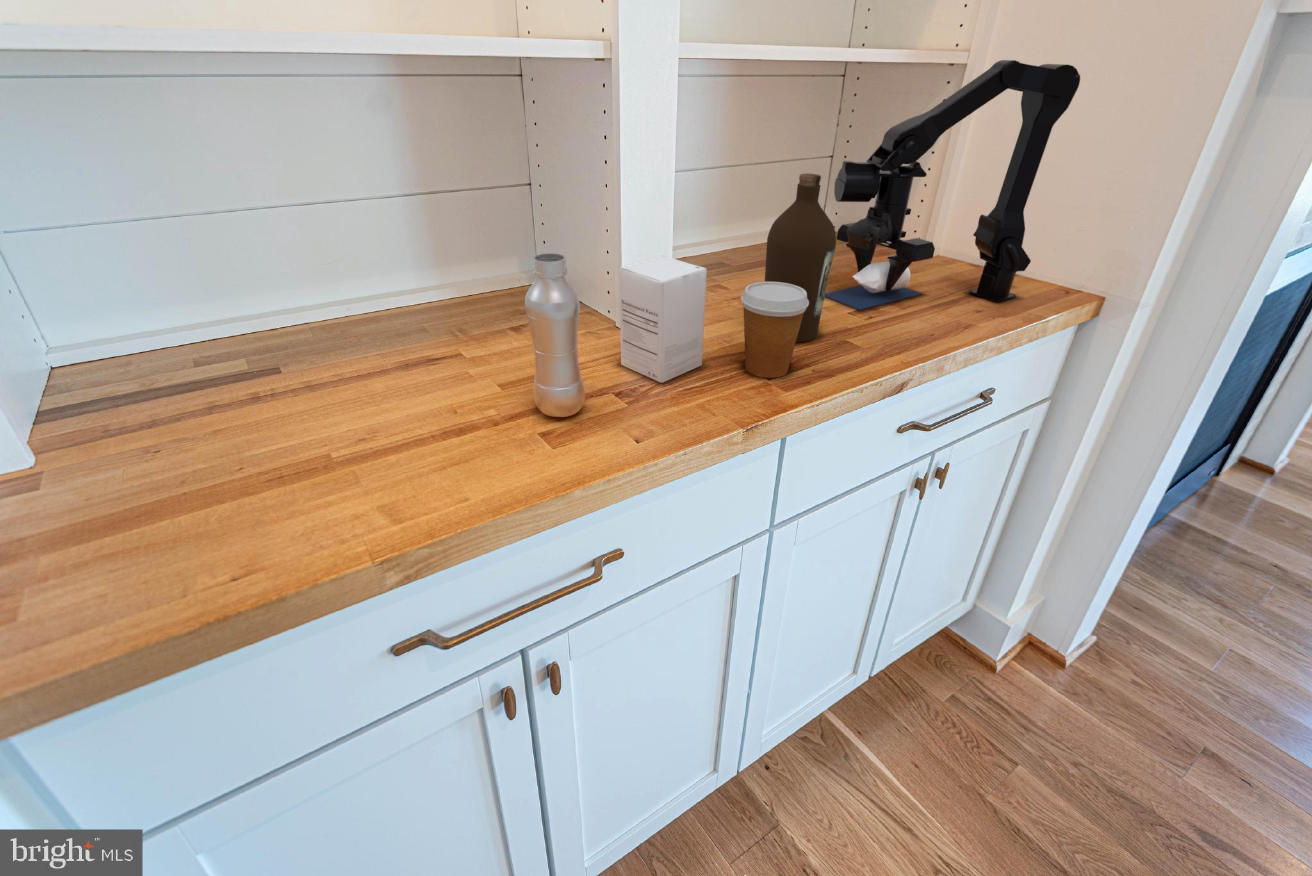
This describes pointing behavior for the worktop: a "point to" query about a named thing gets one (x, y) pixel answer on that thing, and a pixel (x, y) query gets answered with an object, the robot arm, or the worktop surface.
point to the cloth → (869, 297)
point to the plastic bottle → (554, 337)
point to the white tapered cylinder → (879, 277)
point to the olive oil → (803, 251)
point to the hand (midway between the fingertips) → (874, 285)
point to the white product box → (662, 317)
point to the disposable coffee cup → (771, 326)
